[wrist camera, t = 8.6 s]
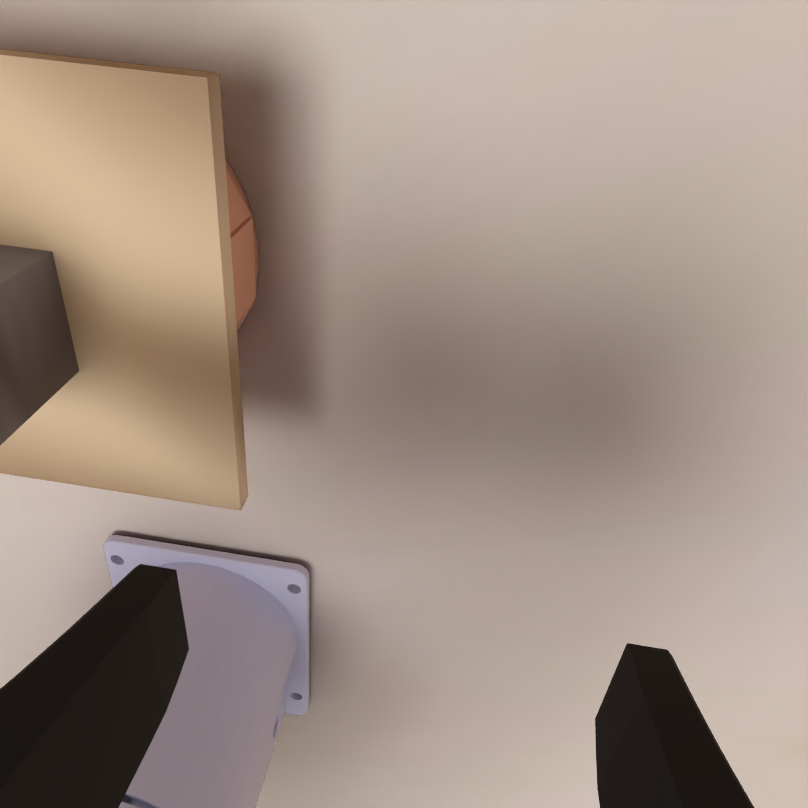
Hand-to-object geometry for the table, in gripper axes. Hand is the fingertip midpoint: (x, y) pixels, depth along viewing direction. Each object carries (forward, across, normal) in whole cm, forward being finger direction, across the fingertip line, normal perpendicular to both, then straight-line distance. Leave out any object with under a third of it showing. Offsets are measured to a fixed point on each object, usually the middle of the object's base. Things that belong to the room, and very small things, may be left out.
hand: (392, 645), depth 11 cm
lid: (+6, +10, -2) cm, 12 cm away
